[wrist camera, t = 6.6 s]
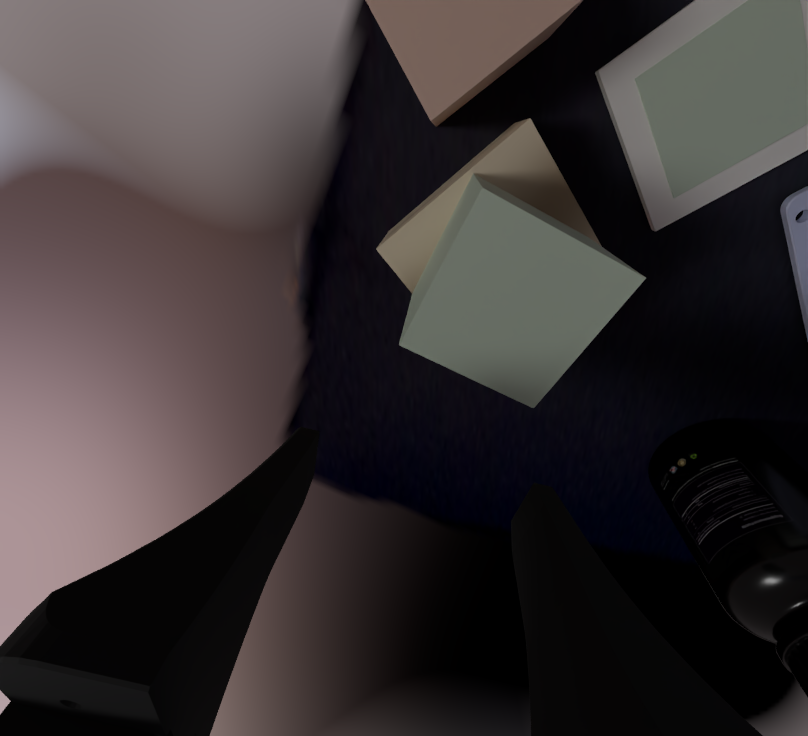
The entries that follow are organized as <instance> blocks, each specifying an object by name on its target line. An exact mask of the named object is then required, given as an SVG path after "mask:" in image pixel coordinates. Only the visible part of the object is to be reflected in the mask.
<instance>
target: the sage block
mask: <svg viewBox="0 0 808 736" xmlns="http://www.w3.org/2000/svg"><path fill="white" fill-rule="evenodd" d="M645 279H646V277H644V276H643V275H641V274H640V273H638V272H637V271H636V270H634V269H633V268H631V267H630V266H628V265H627V264H626V263H624V262H623V261H621V260H620V259H619V258H617V257H616V256H614V255H613V254H611V253H610V252H609V251H607V250H606V249H604V248H603V247H601V246H600V245H599V244H597V243H596V242H594V241H593V240H591V239H590V238H589V237H587V236H585V235H583V234H582V233H580V232H578V231H576V230H574V229H573V228H571V227H569V226H567V225H565V224H564V223H562V222H560V221H558V220H556V219H555V218H553V217H551V216H549V215H547V214H546V213H544V212H542V211H540V210H538V209H537V208H535V207H533V206H531V205H529V204H528V203H526V202H524V201H522V200H520V199H519V198H517V197H515V196H513V195H511V194H510V193H508V192H506V191H504V190H502V189H501V188H499V187H497V186H495V185H493V184H491V183H490V182H488V181H486V180H484V179H482V178H481V177H479V176H477V175H475V174H473V175H472V177H471V179H470V181H469V183H468V185H467V186H466V188H465V190H464V192H463V194H462V196H461V198H460V200H459V202H458V204H457V206H456V208H455V210H454V212H453V214H452V216H451V218H450V220H449V222H448V224H447V226H446V228H445V230H444V232H443V234H442V236H441V238H440V240H439V241H438V243H437V245H436V247H435V249H434V251H433V253H432V255H431V257H430V259H429V261H428V263H427V265H426V267H425V269H424V271H423V273H422V275H421V277H420V279H419V281H418V283H417V285H416V287H415V289H414V291H413V294H412V298H411V301H410V305H409V309H408V313H407V316H406V320H405V324H404V328H403V331H402V335H401V339H400V343H399V345H400V346H402V347H404V348H406V349H408V350H411V351H413V352H415V353H417V354H419V355H421V356H423V357H425V358H428V359H430V360H432V361H434V362H436V363H438V364H440V365H442V366H445V367H447V368H449V369H451V370H453V371H455V372H457V373H459V374H462V375H464V376H466V377H468V378H470V379H472V380H474V381H476V382H479V383H481V384H483V385H485V386H487V387H489V388H491V389H493V390H496V391H498V392H500V393H502V394H504V395H506V396H508V397H510V398H513V399H515V400H517V401H519V402H521V403H523V404H525V405H528V406H530V407H532V408H534V407H535V406H536V405H537V404H538V403H539V401H540V400H541V399H542V398H543V397H544V396H545V395H546V393H547V392H548V391H549V390H550V389H551V388H552V386H553V385H554V384H555V383H556V382H557V381H558V379H559V378H560V377H561V376H562V375H563V374H564V373H565V371H566V370H567V369H568V368H569V367H570V366H571V364H572V363H573V362H574V361H575V360H576V359H577V358H578V356H579V355H580V354H581V353H582V352H583V351H584V349H585V348H586V347H587V346H588V345H589V344H590V342H591V341H592V340H593V339H594V338H595V337H596V336H597V334H598V333H599V332H600V331H601V330H602V329H603V327H604V326H605V325H606V324H607V323H608V322H609V320H610V319H611V318H612V317H613V316H614V315H615V314H616V312H617V311H618V310H619V309H620V308H621V307H622V305H623V304H624V303H625V302H626V301H627V300H628V298H629V297H630V296H631V295H632V294H633V293H634V292H635V290H636V289H637V288H638V287H639V286H640V285H641V283H642V282H643V281H644V280H645Z"/></svg>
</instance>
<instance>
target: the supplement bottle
mask: <svg viewBox="0 0 808 736" xmlns="http://www.w3.org/2000/svg"><path fill="white" fill-rule="evenodd" d="M648 474H649V479H650V482H651V484H652V486H653V488H654V490H655V492H656V494H657V495H658V497H659V499H660V501H661V502H662V504H663V506H664V508H665V509H666V511H667V513H668V514H669V516H670V518H671V519H672V521H673V523H674V525H675V526H676V528H677V530H678V531H679V533H680V535H681V537H682V538H683V540H684V542H685V543H686V545H687V547H688V549H689V550H690V552H691V554H692V555H693V557H694V559H695V561H696V562H697V564H698V566H699V567H700V569H701V571H702V572H703V574H704V576H705V578H706V579H707V581H708V583H709V584H710V586H711V588H712V590H713V591H714V593H715V594H716V596H717V598H718V600H719V601H720V603H721V604H722V606H723V607H724V609H725V610H726V612H727V613H728V614H729V615H730V616H731V617H732V619H733V620H735V621H736V622H737V623H738V624H739V625H741V626H742V627H743V628H745V629H746V630H748V631H749V632H751V633H753V634H754V635H756V636H758V637H760V638H763V639H765V640H768V641H770V642H773V643H777V644H776V652H777V654H778V656H779V657H780V659H781V661H782V662H783V664H784V666H785V667H786V668H787V669H788V670H789V671H790V672H792V673H793V675H794V677H795V678H796V680H797V681H798V683H799V684H800V686H801V688H802V689H803V691H804V692H805V694H806V695H807V697H808V472H807V471H806V470H805V469H804V468H802V467H801V466H800V465H799V464H798V463H797V462H796V461H795V460H794V459H793V458H792V457H790V456H789V455H788V454H787V453H786V452H785V451H784V450H783V449H782V448H781V447H779V446H778V445H777V444H776V443H775V442H774V441H773V440H771V439H770V438H769V437H768V436H767V435H765V434H764V433H763V432H761V431H760V430H758V429H756V428H754V427H751V426H749V425H746V424H742V423H737V422H727V421H716V422H707V423H702V424H698V425H694V426H691V427H688V428H686V429H683V430H681V431H679V432H677V433H675V434H674V435H672V436H671V437H669V438H668V439H667V440H665V441H664V442H663V443H662V444H661V445H660V446H659V447H658V448H657V449H656V451H655V452H654V454H653V456H652V458H651V460H650V463H649V468H648Z"/></svg>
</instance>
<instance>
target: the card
mask: <svg viewBox="0 0 808 736" xmlns="http://www.w3.org/2000/svg"><path fill="white" fill-rule="evenodd" d="M595 75H596V77H597V80H598V83H599V86H600V88H601V91H602V94H603V97H604V100H605V102H606V105H607V108H608V111H609V113H610V116H611V119H612V122H613V124H614V127H615V130H616V133H617V136H618V138H619V141H620V144H621V147H622V149H623V152H624V155H625V158H626V161H627V163H628V166H629V169H630V172H631V174H632V177H633V180H634V183H635V185H636V188H637V191H638V194H639V197H640V199H641V202H642V205H643V208H644V210H645V213H646V216H647V219H648V222H649V224H650V227H651V230H653V231H655V232H656V231H658V230H659V229H661V228H663V227H665V226H667V225H669V224H671V223H672V222H674V221H676V220H678V219H680V218H682V217H684V216H685V215H687V214H689V213H691V212H693V211H695V210H697V209H699V208H700V207H702V206H704V205H706V204H708V203H710V202H712V201H713V200H715V199H717V198H719V197H721V196H723V195H725V194H726V193H728V192H730V191H732V190H734V189H736V188H738V187H740V186H741V185H743V184H745V183H747V182H749V181H751V180H753V179H754V178H756V177H758V176H760V175H762V174H764V173H766V172H767V171H769V170H771V169H773V168H775V167H777V166H779V165H781V164H782V163H784V162H786V161H788V160H790V159H792V158H794V157H795V156H797V155H799V154H801V153H803V152H805V151H807V150H808V0H694V1H693V2H691V3H690V4H689V5H687V6H686V7H684V8H683V9H682V10H680V11H679V12H678V13H676V14H675V15H673V16H672V17H671V18H669V19H668V20H667V21H665V22H664V23H662V24H661V25H660V26H658V27H657V28H656V29H654V30H653V31H651V32H650V33H649V34H647V35H646V36H644V37H643V38H642V39H640V40H639V41H638V42H636V43H635V44H633V45H632V46H631V47H629V48H628V49H627V50H625V51H624V52H622V53H621V54H620V55H618V56H617V57H616V58H614V59H613V60H611V61H610V62H609V63H607V64H606V65H605V66H603V67H602V68H600V69H599V70H598V71H596V72H595Z"/></svg>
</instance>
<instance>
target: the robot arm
mask: <svg viewBox="0 0 808 736" xmlns="http://www.w3.org/2000/svg"><path fill="white" fill-rule="evenodd" d="M802 210H803V215H802V216H801V218H799V219H798V220H795V219H796V216H797V214H798V213H799V212H801V211H802ZM781 216H782V221H783V226H784V230H785V235H786V240H787V245H788V249H789V254H790V259H791V264H792V269H793V273H794V278H795V283H796V288H797V293H798V297H799V302H800V307H801V312H802V316H803V321H804V326H805V331H806V336H807V340H808V186H807V187H805V188H803V189H801V190H799V191H797V192H795V193H793V194H791V195H790V196H788V197H787V198H786V199H785V200H784V201H783V203H782V205H781ZM318 439H319V431H316V430H312V429H308V428H303V427H300V428H298V429H297V430H296V431H295V432H294V433H293V434H292V435H291V436H290V437H289V438H288V439H287V441H286V442H285V443H284V444H283V445H282V446H280V447H279V448H278V449H277V450H276V451H275V452H274V453H273V454H272V455H271V456H270V457H269V458H268V459H267V460H265V461H264V462H263V463H262V464H261V465H260V466H259V467H258V468H257V469H255V470H254V471H253V472H252V473H251V474H250V475H248V476H247V477H246V478H245V479H243V480H242V481H241V482H240V483H238V484H237V485H236V486H235V487H233V488H232V489H231V490H230V491H228V492H227V493H226V494H225V495H223V496H222V497H220V498H219V499H218V500H216V501H215V502H213V503H212V504H211V505H209V506H208V507H206V508H205V509H204V510H202V511H201V512H199V513H198V514H196V515H195V516H193V517H192V518H190V519H189V520H187V521H185V522H184V523H182V524H180V525H179V526H177V527H176V528H174V529H173V530H171V531H169V532H168V533H166V534H164V535H163V536H161V537H159V538H158V539H156V540H154V541H152V542H150V543H149V544H147V545H145V546H143V547H141V548H140V549H138V550H136V551H134V552H133V553H131V554H129V555H127V556H125V557H123V558H121V559H119V560H118V561H116V562H114V563H112V564H110V565H108V566H106V567H104V568H102V569H100V570H97V571H95V572H93V573H91V574H89V575H87V576H85V577H83V578H81V579H79V580H77V581H75V582H72V583H70V584H68V585H67V586H64V587H62V588H60V589H58V590H55V591H54V592H52V593H51V594H50V595H49V596H48V597H47V598H46V599H45V600H44V601H43V602H42V603H41V604H39V605H38V606H37V607H36V608H35V609H34V610H33V611H32V612H31V613H30V614H29V615H28V616H27V617H26V618H25V620H23V621H22V623H21V624H20V625H19V626H18V627H17V628H16V629H15V630H14V632H13V633H12V634H11V635H10V636H9V637H8V638H7V639H6V640H5V642H4V643H3V644H2V645H1V646H0V690H1V691H2V692H3V693H4V694H5V695H6V696H7V697H8V698H9V700H10V701H11V702H10V703H9V704H8V706H7V707H6V708H5V709H4V711H3V712H2V713H1V715H0V736H209V735H210V732H211V730H212V727H213V724H214V721H215V718H216V715H217V712H218V710H219V707H220V704H221V701H222V698H223V695H224V693H225V690H226V687H227V684H228V682H229V679H230V676H231V673H232V671H233V668H234V665H235V662H236V660H237V657H238V654H239V651H240V649H241V646H242V643H243V641H244V638H245V635H246V633H247V630H248V627H249V625H250V622H251V619H252V617H253V614H254V611H255V609H256V606H257V604H258V601H259V599H260V596H261V593H262V591H263V588H264V586H265V583H266V581H267V579H268V576H269V574H270V572H271V569H272V567H273V565H274V563H275V561H276V559H277V557H278V555H279V553H280V551H281V549H282V547H283V545H284V543H285V541H286V539H287V536H288V535H289V533H290V530H291V528H292V526H293V524H294V522H295V520H296V518H297V516H298V514H299V511H300V510H301V508H302V505H303V503H304V501H305V498H306V495H307V493H308V490H309V487H310V484H311V482H312V479H313V476H314V471H315V463H316V455H317V447H318ZM511 535H512V554H513V560H514V567H515V573H516V580H517V586H518V592H519V598H520V604H521V610H522V616H523V622H524V629H525V636H526V645H527V659H528V672H529V690H530V710H531V736H762V735H761V734H760V733H759V732H758V731H757V730H755V728H754V727H752V726H751V725H750V724H749V723H748V722H747V721H746V720H744V718H742V717H741V716H740V715H739V714H738V713H737V712H736V711H735V710H734V709H733V708H732V707H731V706H730V705H729V704H728V703H726V702H725V700H723V699H722V698H721V697H720V696H719V695H718V694H717V693H716V692H715V691H714V690H713V689H712V688H711V687H710V686H709V685H708V684H707V683H706V682H705V681H704V680H703V679H702V678H701V677H700V676H699V675H698V674H697V673H696V672H695V671H694V670H693V669H692V668H691V667H690V666H689V665H688V664H687V663H686V662H685V661H684V660H683V658H682V657H681V656H680V655H679V654H678V653H677V652H676V651H675V650H674V649H673V648H672V647H671V645H669V643H668V642H667V641H666V640H665V639H664V638H663V637H662V636H661V635H660V634H659V632H657V630H656V629H655V628H654V627H653V626H652V624H651V623H650V622H649V621H648V620H647V619H646V617H645V616H644V615H643V614H642V613H641V611H640V610H639V609H638V608H637V607H636V605H635V604H634V603H633V602H632V601H631V600H630V598H629V597H628V596H627V594H626V593H625V592H624V591H623V589H622V588H621V587H620V585H619V584H618V583H617V582H616V580H615V579H614V577H613V576H612V575H611V573H610V572H609V571H608V569H607V568H606V567H605V565H604V564H603V563H602V561H601V560H600V558H599V557H598V556H597V554H596V553H595V551H594V550H593V548H592V547H591V545H590V544H589V542H588V541H587V540H586V538H585V537H584V535H583V534H582V532H581V531H580V529H579V528H578V526H577V525H576V523H575V521H574V520H573V518H572V517H571V515H570V514H569V512H568V511H567V509H566V508H565V506H564V505H563V503H562V501H561V500H560V498H559V497H558V495H557V494H556V492H555V491H554V489H553V488H552V487H549V486H545V485H541V484H536V483H534V484H533V485H532V487H531V489H530V490H529V492H528V494H527V495H526V497H525V499H524V500H523V502H522V504H521V505H520V507H519V509H518V511H517V512H516V514H515V516H514V517H513V519H512V521H511Z"/></svg>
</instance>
